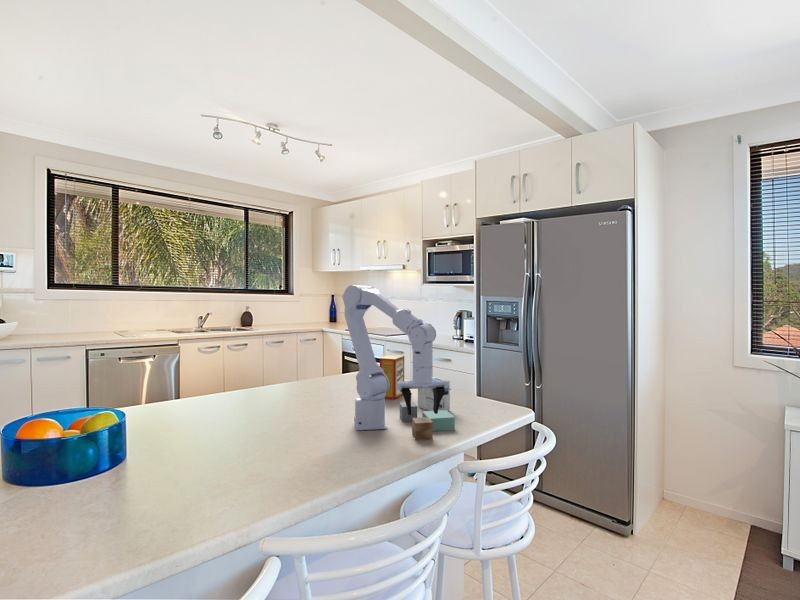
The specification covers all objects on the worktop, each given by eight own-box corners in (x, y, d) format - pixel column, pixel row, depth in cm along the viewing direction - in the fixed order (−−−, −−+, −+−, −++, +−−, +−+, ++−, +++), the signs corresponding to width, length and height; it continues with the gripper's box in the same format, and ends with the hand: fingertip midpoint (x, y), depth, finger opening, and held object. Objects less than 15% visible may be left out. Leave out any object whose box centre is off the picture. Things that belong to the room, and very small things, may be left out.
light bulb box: (450, 410, 150) (450, 380, 150) (435, 414, 146) (435, 382, 146) (431, 404, 159) (431, 375, 158) (416, 406, 155) (416, 377, 155)
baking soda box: (389, 392, 176) (389, 353, 175) (404, 394, 173) (404, 354, 173) (379, 398, 167) (379, 357, 167) (395, 399, 165) (395, 358, 164)
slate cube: (402, 422, 137) (402, 406, 137) (399, 417, 142) (399, 402, 142) (417, 421, 138) (417, 406, 138) (414, 417, 143) (414, 402, 142)
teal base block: (429, 432, 128) (429, 418, 128) (422, 423, 136) (422, 411, 136) (454, 430, 130) (454, 417, 130) (446, 422, 138) (446, 409, 138)
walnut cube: (415, 440, 120) (415, 423, 120) (412, 434, 125) (412, 417, 125) (432, 440, 121) (432, 422, 121) (428, 434, 126) (428, 417, 126)
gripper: (399, 369, 118) (399, 418, 118) (450, 368, 120) (450, 416, 120) (395, 365, 125) (396, 411, 125) (444, 363, 127) (444, 409, 127)
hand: (422, 413), depth 123 cm, fingers open, 7 cm apart
